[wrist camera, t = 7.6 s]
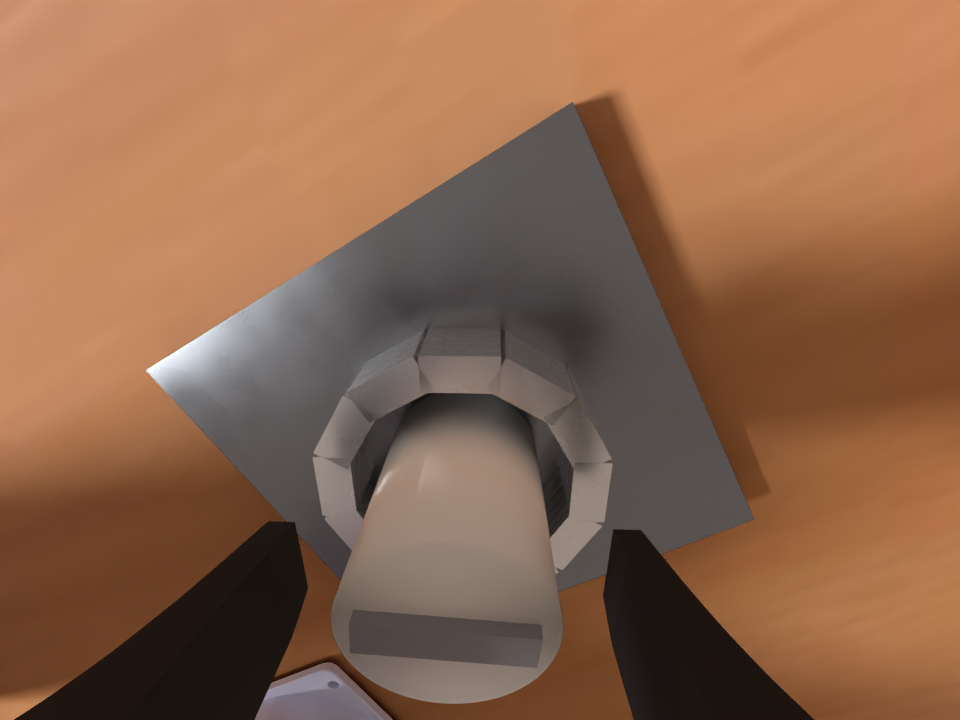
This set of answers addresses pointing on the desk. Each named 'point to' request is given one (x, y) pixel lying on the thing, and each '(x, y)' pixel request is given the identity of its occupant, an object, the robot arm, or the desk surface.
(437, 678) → the cylinder
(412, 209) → the duct base
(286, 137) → the desk surface
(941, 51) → the desk surface
